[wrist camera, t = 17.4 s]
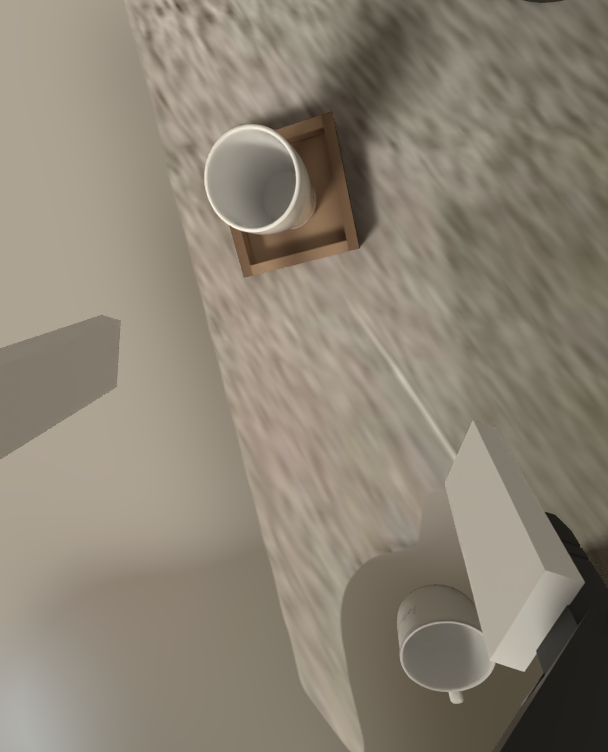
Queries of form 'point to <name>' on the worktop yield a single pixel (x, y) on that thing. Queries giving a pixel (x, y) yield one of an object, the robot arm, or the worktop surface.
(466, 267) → the worktop surface
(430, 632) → the teacup
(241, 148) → the white tumbler cup
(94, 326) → the robot arm
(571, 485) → the worktop surface
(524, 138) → the worktop surface
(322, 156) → the walnut tray
